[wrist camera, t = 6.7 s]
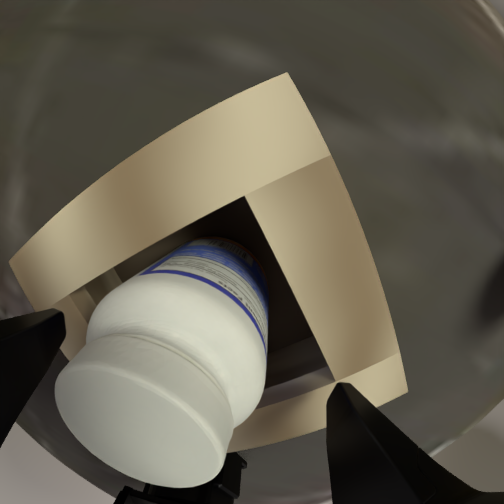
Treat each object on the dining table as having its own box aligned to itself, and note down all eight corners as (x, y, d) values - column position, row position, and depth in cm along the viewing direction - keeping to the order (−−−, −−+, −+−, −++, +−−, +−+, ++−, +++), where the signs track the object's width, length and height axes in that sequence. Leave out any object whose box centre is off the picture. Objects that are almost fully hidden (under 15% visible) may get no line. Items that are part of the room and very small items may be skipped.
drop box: (188, 388, 17) (166, 460, 11) (81, 227, 14) (8, 261, 8) (367, 320, 15) (408, 391, 9) (276, 112, 12) (287, 72, 6)
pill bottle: (202, 350, 15) (138, 504, 5) (143, 268, 14) (4, 373, 5) (290, 306, 14) (309, 483, 4) (231, 211, 13) (129, 278, 4)
